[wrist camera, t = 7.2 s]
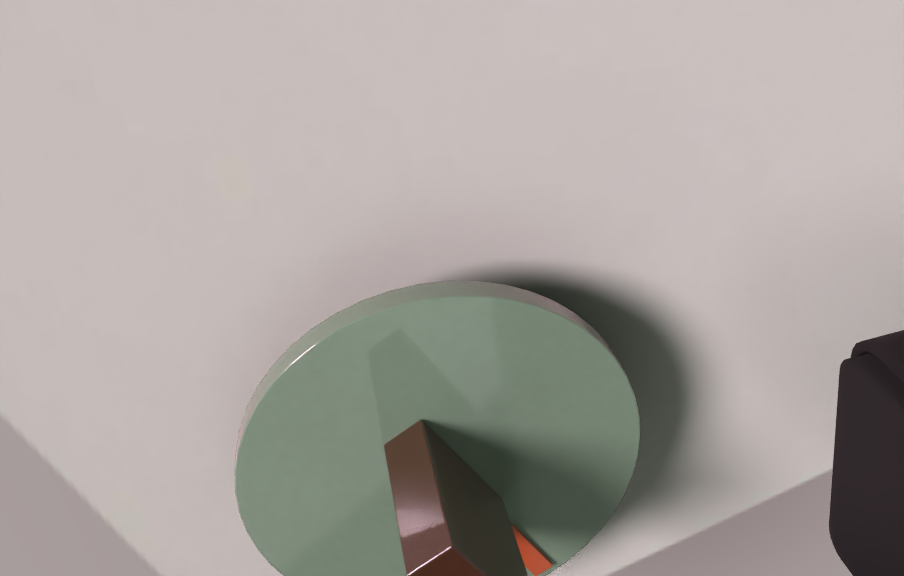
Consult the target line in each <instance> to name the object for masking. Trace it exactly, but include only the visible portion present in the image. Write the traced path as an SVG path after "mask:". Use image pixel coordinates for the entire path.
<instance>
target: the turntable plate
mask: <svg viewBox="0 0 904 576" xmlns="http://www.w3.org/2000/svg"><path fill="white" fill-rule="evenodd" d="M639 443H640V417H639V410H638V406H637V401H636V397H635V393H634V391H633V388H632V386H631V384H630V381H629V379H628V376H627V374H626V373H625V371H624V370H623V368H622V366H621V365H620V363H619V361H618V360H617V358H616V357H615V355H614V354H613V352H612V350H611V349H610V347H609V346H608V344H607V343H606V342H605V341H604V339H603V338H602V337H601V336H600V335H599V334H598V333H597V332H596V331H595V329H594V328H593V327H592V326H590V325H589V324H588V323H587V322H585V321H584V320H583V319H582V318H581V317H579V316H578V315H577V314H576V313H574V312H573V311H571V310H569V309H567V308H566V307H564V306H562V305H560V304H559V303H557V302H555V301H553V300H551V299H549V298H546V297H544V296H541V295H539V294H536V293H534V292H531V291H528V290H524V289H520V288H516V287H512V286H508V285H504V284H497V283H489V282H481V281H442V282H433V283H424V284H417V285H413V286H409V287H404V288H400V289H396V290H391V291H388V292H385V293H382V294H380V295H377V296H374V297H371V298H368V299H365V300H362V301H360V302H358V303H356V304H354V305H352V306H350V307H348V308H346V309H344V310H342V311H340V312H338V313H336V314H334V315H333V316H331V317H330V318H328V319H326V320H325V321H323V322H322V323H320V324H319V325H317V326H315V327H314V328H312V329H311V330H310V331H309V332H307V333H306V334H305V335H304V336H303V337H301V338H300V339H299V340H298V341H296V342H295V343H294V344H293V345H292V346H290V348H289V349H288V350H287V351H286V352H285V353H284V354H283V355H282V356H281V357H280V358H279V359H278V360H277V361H276V362H275V364H274V365H273V366H272V367H271V368H270V370H269V371H268V373H267V374H266V375H265V377H264V378H263V380H262V381H261V382H260V384H259V385H258V387H257V388H256V390H255V392H254V394H253V396H252V398H251V400H250V402H249V404H248V406H247V408H246V411H245V414H244V417H243V420H242V423H241V426H240V429H239V433H238V440H237V447H236V454H235V493H236V498H237V503H238V508H239V513H240V515H241V518H242V520H243V523H244V526H245V528H246V531H247V533H248V534H249V536H250V537H251V539H252V541H253V542H254V544H255V546H256V547H257V549H258V550H259V551H260V553H261V554H262V555H263V556H264V557H265V558H266V560H267V561H268V562H269V563H270V564H271V565H272V566H273V567H274V568H275V569H276V570H277V571H279V572H280V573H281V574H282V575H283V576H546V575H547V574H549V573H551V572H552V571H554V570H555V569H556V568H558V567H559V566H561V565H562V564H564V563H565V562H566V561H568V560H569V559H570V558H571V557H573V556H574V555H575V554H576V553H577V552H578V551H580V550H581V549H582V548H583V547H584V546H585V545H586V544H587V543H588V542H589V541H590V540H591V539H592V538H593V537H594V536H595V535H596V534H597V533H598V532H599V531H600V530H601V528H602V527H603V526H604V524H605V523H606V522H607V521H608V519H609V518H610V517H611V515H612V514H613V513H614V511H615V509H616V508H617V506H618V504H619V503H620V501H621V499H622V497H623V496H624V494H625V492H626V490H627V487H628V485H629V482H630V480H631V478H632V475H633V472H634V468H635V465H636V461H637V457H638V452H639Z"/></svg>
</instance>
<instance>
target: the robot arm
mask: <svg viewBox="0 0 904 576" xmlns="http://www.w3.org/2000/svg"><path fill="white" fill-rule="evenodd" d="M829 531H830V535H831V539H832V542H833V545H834V547H835V549H836V552H837V553H838V555H839V557H840V558H841V560H842V561H843V563H844V564H845V565H846V567H847V568H848V569H849V571H850V572H851V573H852V575H853V576H904V330H903V331H899V332H895V333H891V334H887V335H884V336H880V337H876V338H872V339H869V340H865V341H861V342H859V343H856V345H855V346H854V348H853V350H852V354H851V358H849V359H846V360H844V361H843V362H842V363H841V367H840V373H839V388H838V402H837V417H836V431H835V446H834V460H833V475H832V489H831V504H830V518H829Z"/></svg>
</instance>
